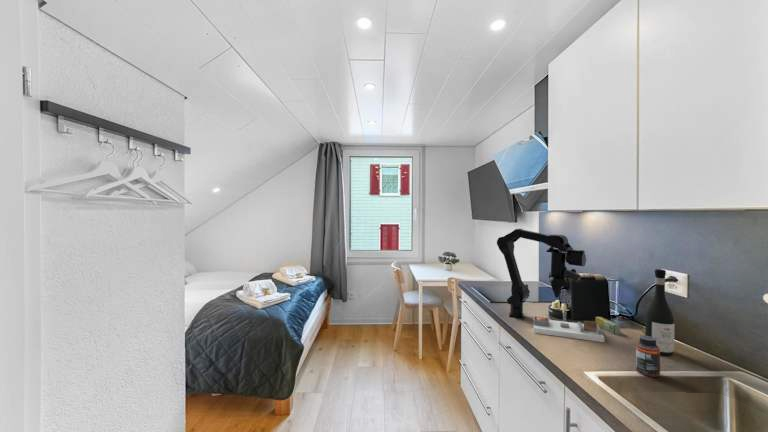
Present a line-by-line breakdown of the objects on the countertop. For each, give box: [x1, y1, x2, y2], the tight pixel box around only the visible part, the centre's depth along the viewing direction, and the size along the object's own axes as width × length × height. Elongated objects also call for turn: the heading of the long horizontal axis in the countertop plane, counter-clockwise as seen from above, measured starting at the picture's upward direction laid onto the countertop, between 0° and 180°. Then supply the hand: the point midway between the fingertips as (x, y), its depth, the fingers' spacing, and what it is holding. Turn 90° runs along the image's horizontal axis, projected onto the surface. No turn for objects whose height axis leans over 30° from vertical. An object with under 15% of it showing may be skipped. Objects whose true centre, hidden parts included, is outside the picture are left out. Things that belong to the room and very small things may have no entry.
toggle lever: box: [561, 310, 568, 322], centre depth 140 cm, size 2×2×4 cm
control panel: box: [533, 316, 605, 343], centre depth 139 cm, size 14×25×4 cm, turn 66°
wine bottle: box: [644, 268, 675, 356], centre depth 119 cm, size 8×8×30 cm
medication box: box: [595, 316, 621, 336], centre depth 141 cm, size 12×3×4 cm, turn 2°
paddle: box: [583, 320, 597, 332], centre depth 133 cm, size 1×4×4 cm, turn 66°
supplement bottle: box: [635, 335, 661, 378], centre depth 103 cm, size 6×6×11 cm
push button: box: [536, 316, 547, 321], centre depth 143 cm, size 4×4×2 cm
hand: (556, 297), depth 146 cm, fingers closed
